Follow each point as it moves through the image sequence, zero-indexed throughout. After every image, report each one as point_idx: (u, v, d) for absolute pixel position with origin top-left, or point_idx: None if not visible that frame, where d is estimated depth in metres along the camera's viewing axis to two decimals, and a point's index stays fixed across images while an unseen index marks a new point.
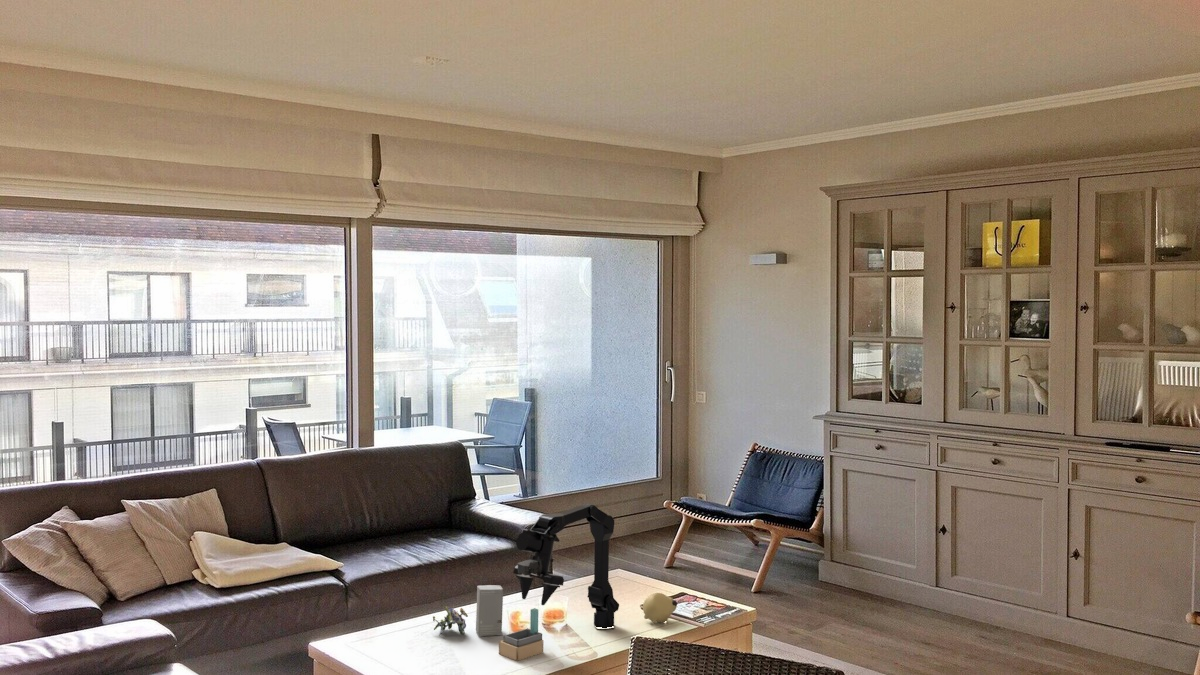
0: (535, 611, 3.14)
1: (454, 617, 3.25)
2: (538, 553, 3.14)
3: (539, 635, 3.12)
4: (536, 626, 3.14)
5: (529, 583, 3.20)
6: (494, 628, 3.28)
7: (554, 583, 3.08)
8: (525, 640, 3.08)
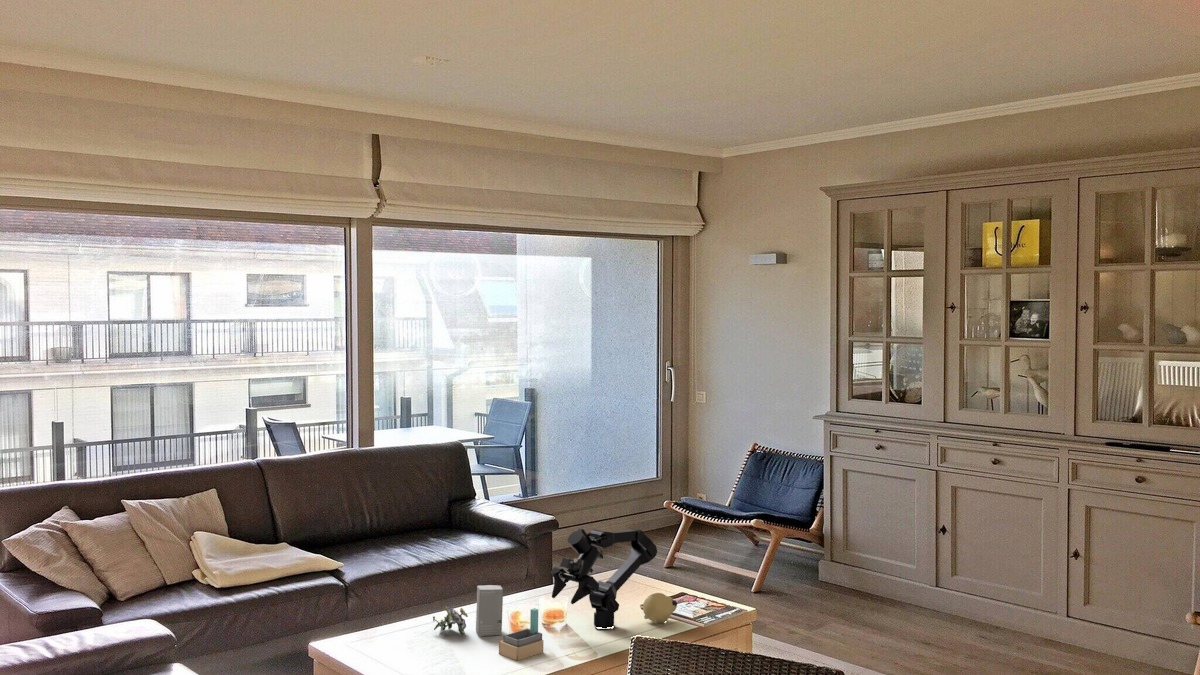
0: (535, 611, 3.14)
1: (454, 617, 3.25)
2: (583, 557, 3.29)
3: (539, 635, 3.12)
4: (536, 626, 3.14)
5: (562, 587, 3.30)
6: (494, 628, 3.28)
7: (591, 584, 3.20)
8: (525, 640, 3.08)
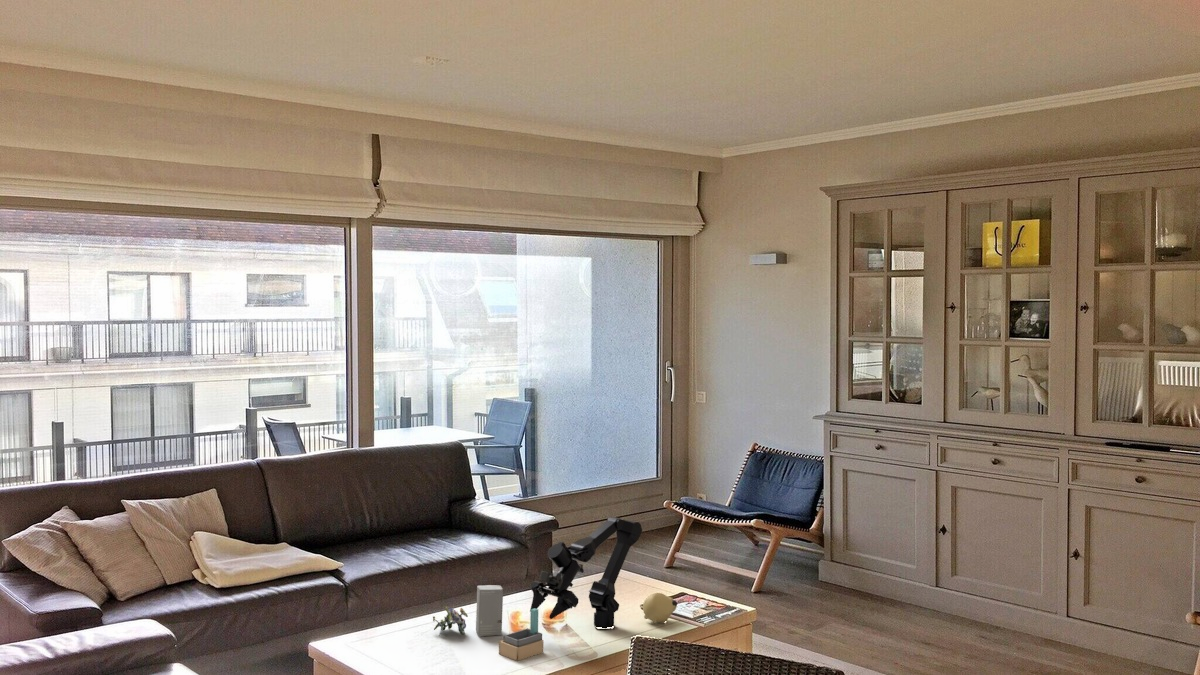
0: (535, 611, 3.14)
1: (454, 617, 3.25)
2: (562, 571, 3.23)
3: (539, 635, 3.12)
4: (536, 626, 3.14)
5: (541, 602, 3.23)
6: (494, 628, 3.28)
7: (570, 598, 3.13)
8: (525, 640, 3.08)
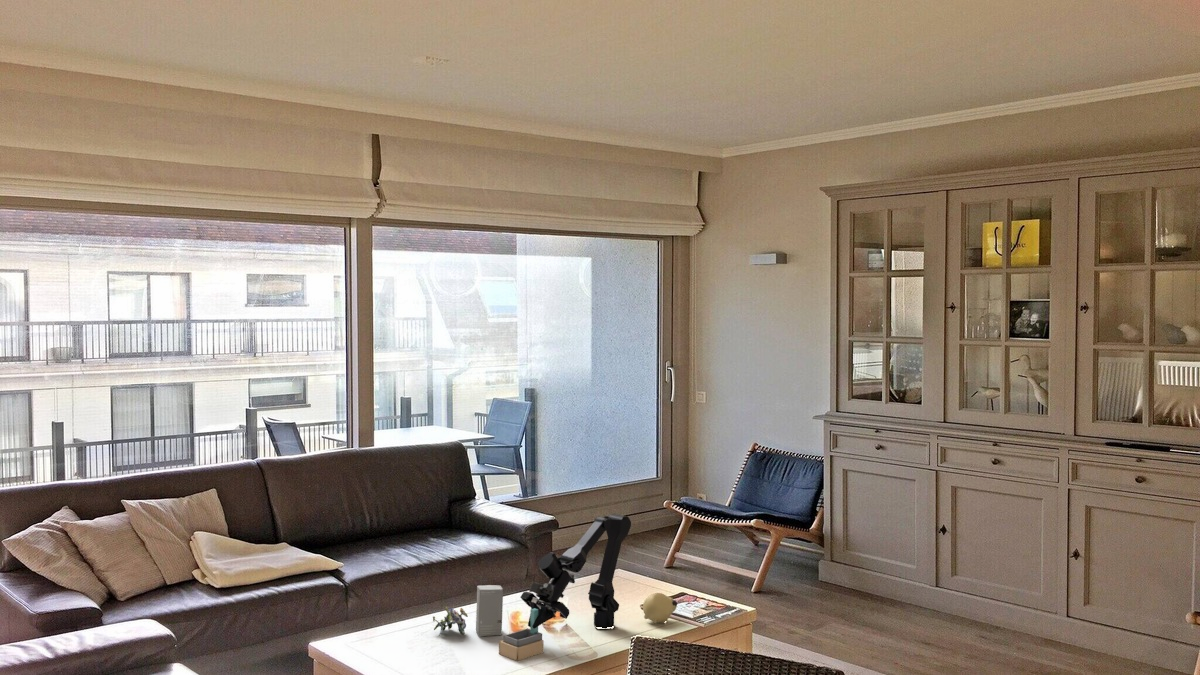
0: (535, 611, 3.14)
1: (454, 617, 3.25)
2: (553, 582, 3.20)
3: (539, 635, 3.12)
4: None
5: None
6: (494, 628, 3.28)
7: (561, 610, 3.10)
8: (525, 640, 3.08)
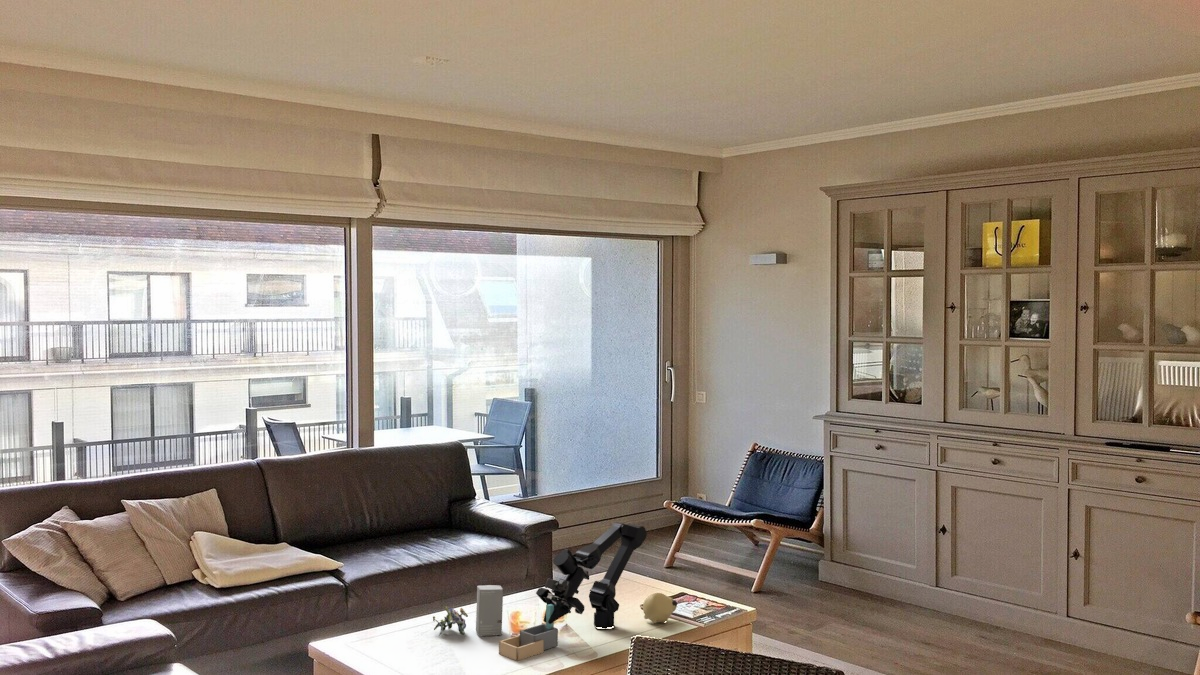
0: (551, 607, 3.19)
1: (454, 617, 3.25)
2: (568, 578, 3.25)
3: (555, 630, 3.17)
4: None
5: None
6: (494, 628, 3.28)
7: (576, 606, 3.15)
8: (541, 635, 3.13)
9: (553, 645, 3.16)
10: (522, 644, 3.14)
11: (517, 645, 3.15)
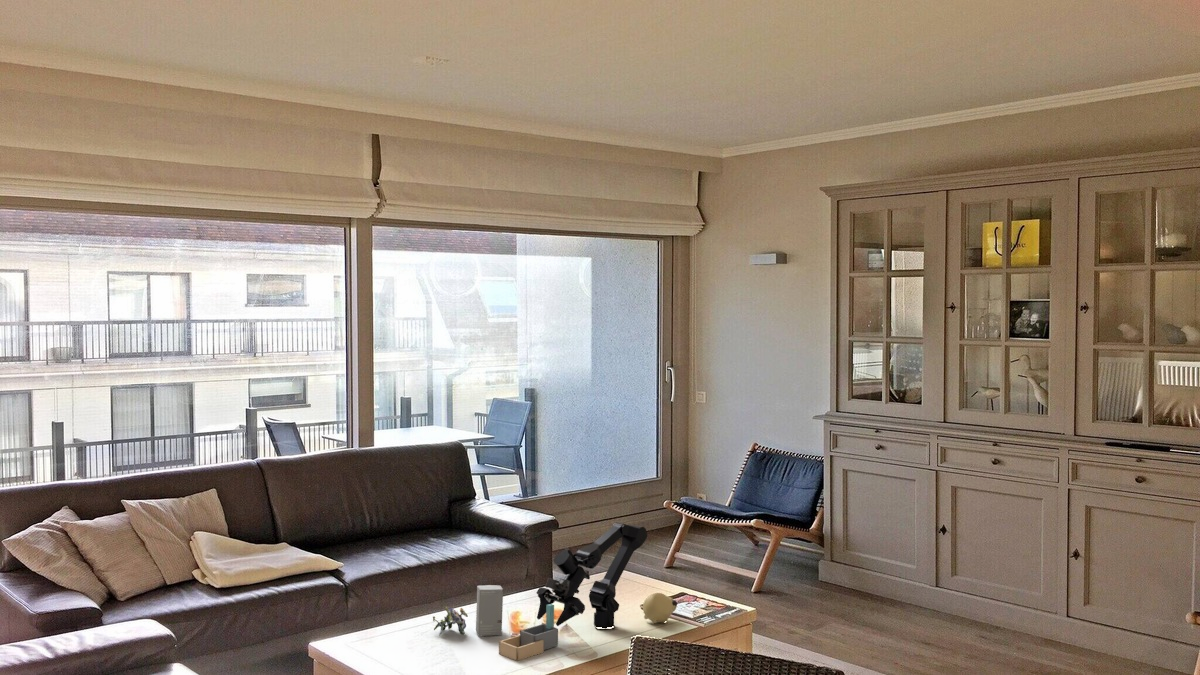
0: (551, 607, 3.19)
1: (454, 617, 3.25)
2: (569, 578, 3.25)
3: (555, 630, 3.17)
4: (552, 621, 3.19)
5: None
6: (494, 628, 3.28)
7: (576, 605, 3.15)
8: (541, 635, 3.13)
9: (553, 645, 3.16)
10: (522, 644, 3.14)
11: (517, 645, 3.15)
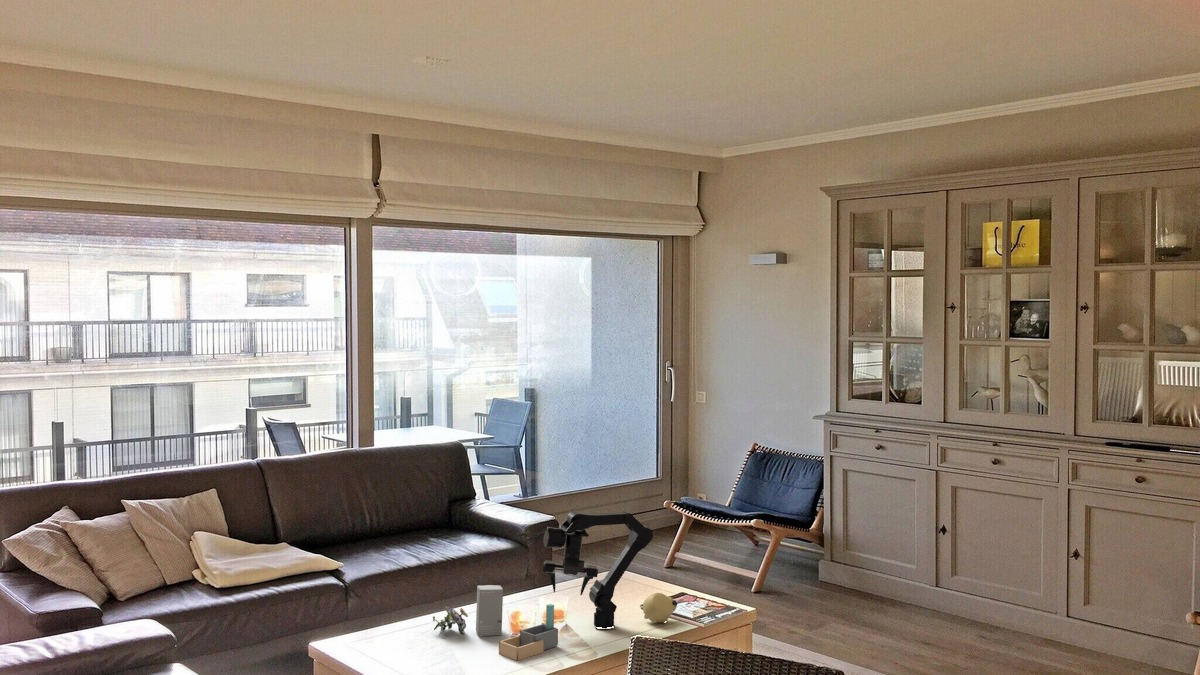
0: (551, 607, 3.19)
1: (454, 617, 3.25)
2: (575, 550, 3.32)
3: (555, 630, 3.17)
4: (552, 621, 3.19)
5: None
6: (494, 628, 3.28)
7: None
8: (541, 635, 3.13)
9: (553, 645, 3.16)
10: (522, 644, 3.14)
11: (517, 645, 3.15)
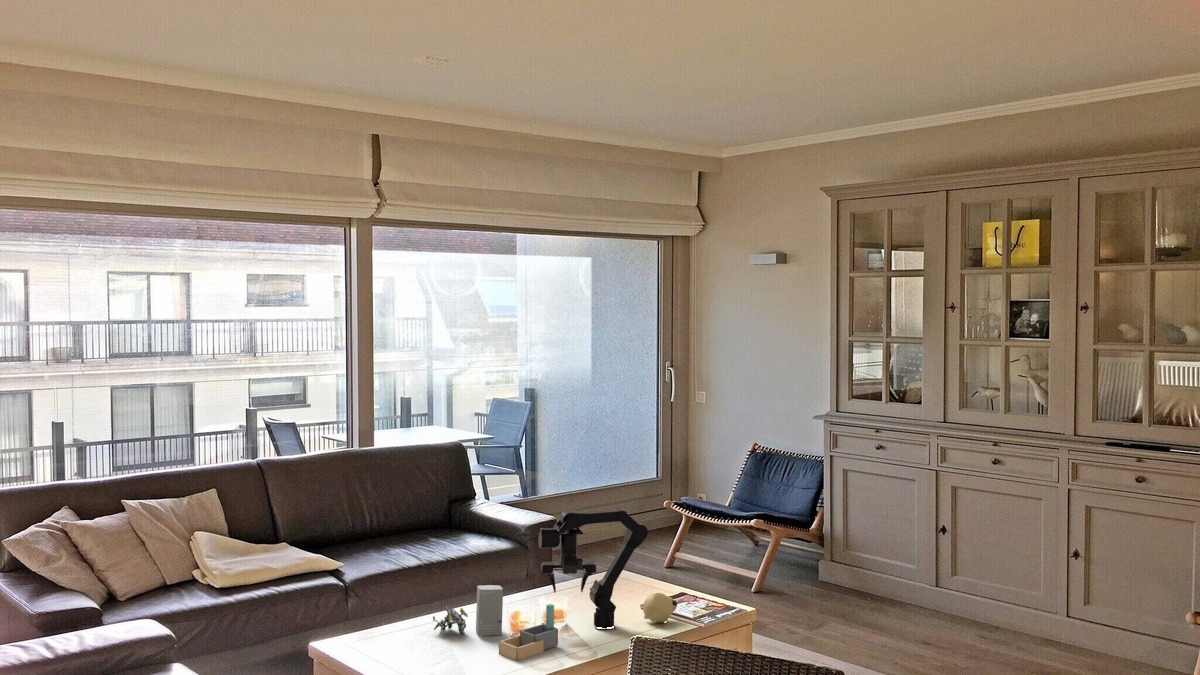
0: (551, 607, 3.19)
1: (454, 617, 3.25)
2: (571, 549, 3.32)
3: (555, 630, 3.17)
4: (552, 621, 3.19)
5: None
6: (494, 628, 3.28)
7: None
8: (541, 635, 3.13)
9: (553, 645, 3.16)
10: (522, 644, 3.14)
11: (517, 645, 3.15)
